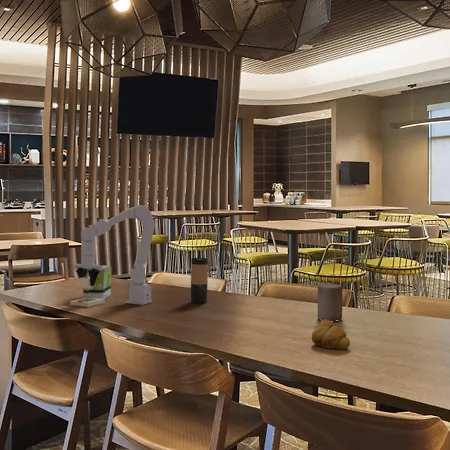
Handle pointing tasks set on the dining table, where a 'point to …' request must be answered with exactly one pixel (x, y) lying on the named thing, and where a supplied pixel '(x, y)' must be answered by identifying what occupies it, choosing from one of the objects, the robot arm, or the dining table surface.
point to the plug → (85, 283)
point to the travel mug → (199, 280)
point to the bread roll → (330, 336)
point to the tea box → (100, 284)
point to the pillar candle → (330, 302)
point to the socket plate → (87, 302)
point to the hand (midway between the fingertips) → (87, 285)
